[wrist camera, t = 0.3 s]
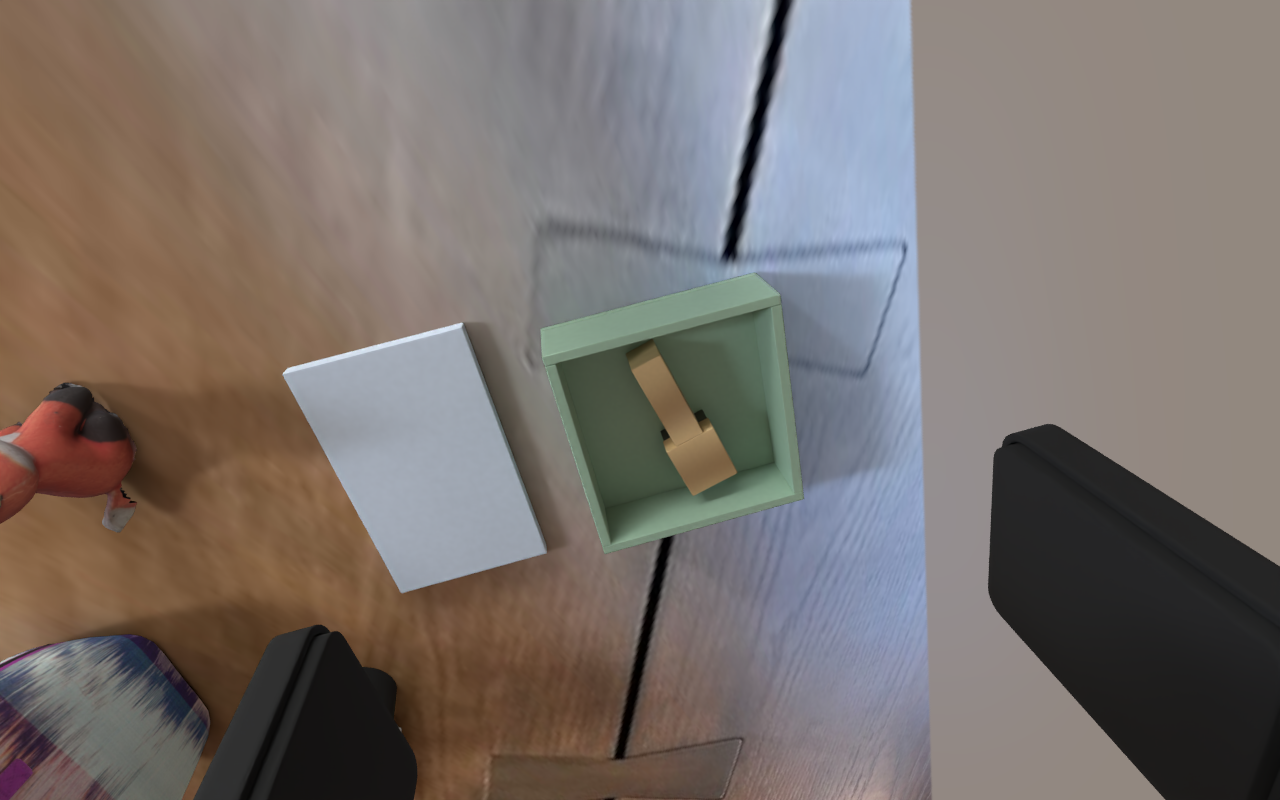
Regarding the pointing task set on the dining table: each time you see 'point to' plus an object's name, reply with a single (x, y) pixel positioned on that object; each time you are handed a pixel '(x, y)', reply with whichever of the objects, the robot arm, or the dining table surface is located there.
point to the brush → (681, 423)
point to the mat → (421, 455)
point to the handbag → (97, 722)
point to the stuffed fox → (67, 455)
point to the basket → (710, 380)
